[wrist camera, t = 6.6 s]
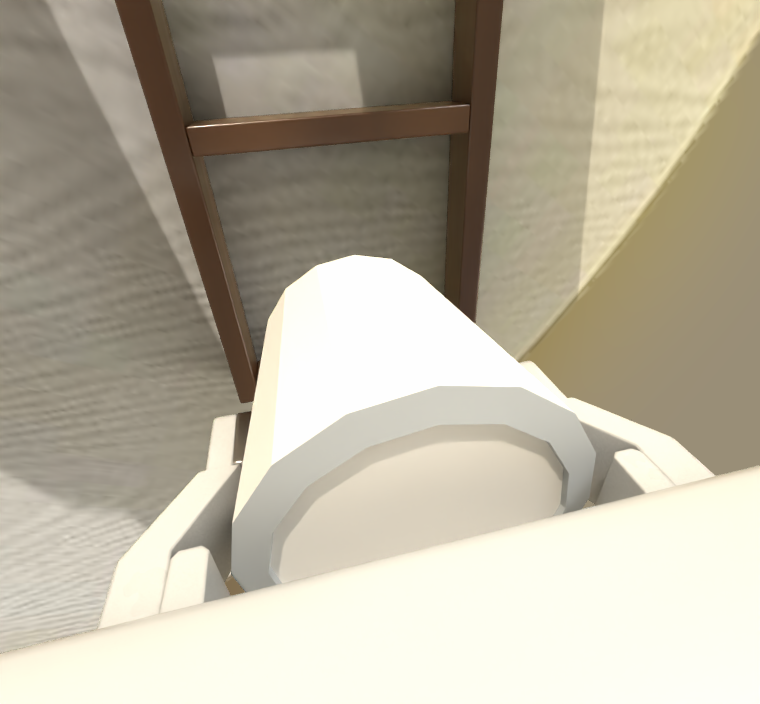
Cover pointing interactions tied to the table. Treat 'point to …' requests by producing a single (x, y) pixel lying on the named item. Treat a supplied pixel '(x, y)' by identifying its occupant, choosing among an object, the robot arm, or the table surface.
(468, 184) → the holder
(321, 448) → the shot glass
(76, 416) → the table surface
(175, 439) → the table surface
